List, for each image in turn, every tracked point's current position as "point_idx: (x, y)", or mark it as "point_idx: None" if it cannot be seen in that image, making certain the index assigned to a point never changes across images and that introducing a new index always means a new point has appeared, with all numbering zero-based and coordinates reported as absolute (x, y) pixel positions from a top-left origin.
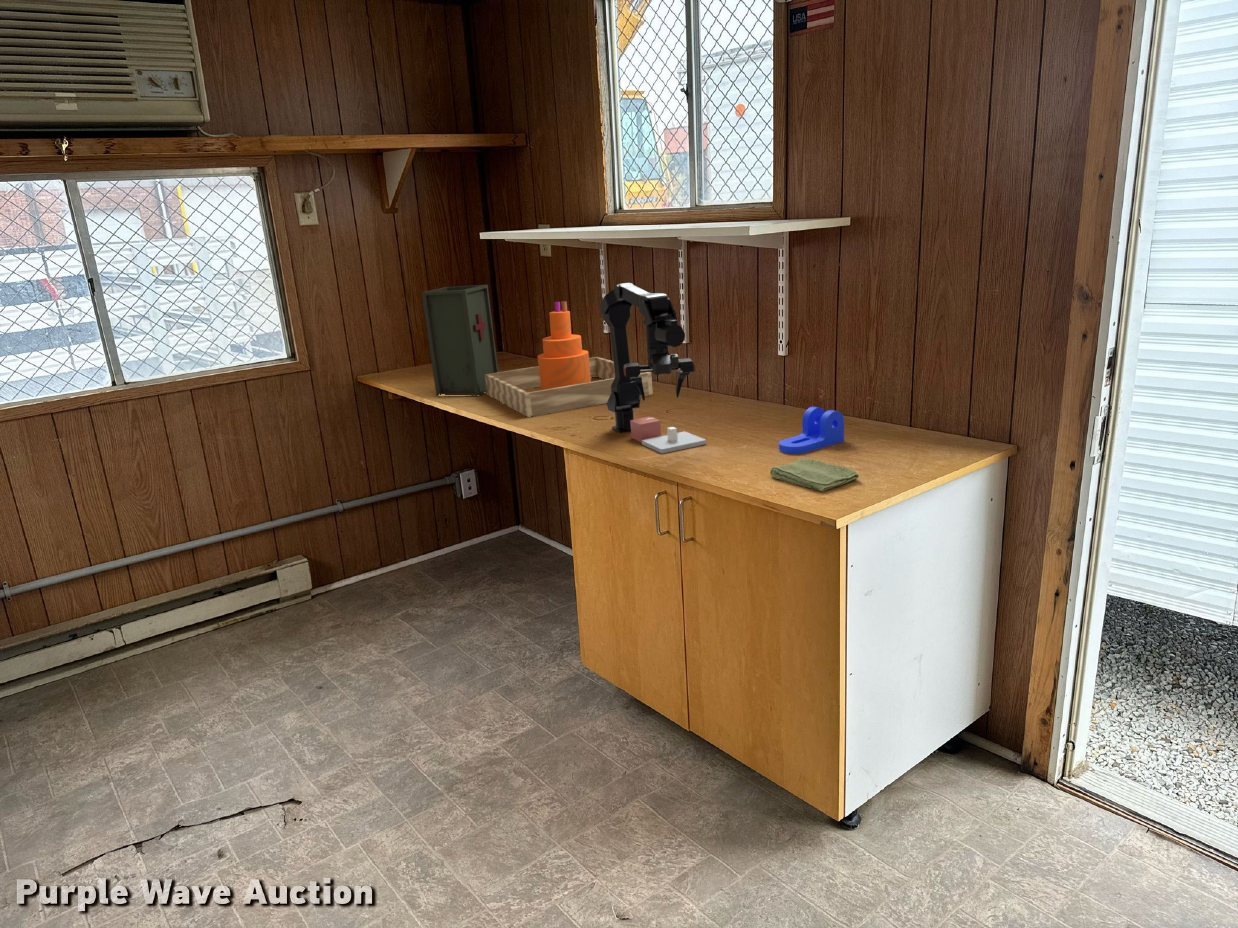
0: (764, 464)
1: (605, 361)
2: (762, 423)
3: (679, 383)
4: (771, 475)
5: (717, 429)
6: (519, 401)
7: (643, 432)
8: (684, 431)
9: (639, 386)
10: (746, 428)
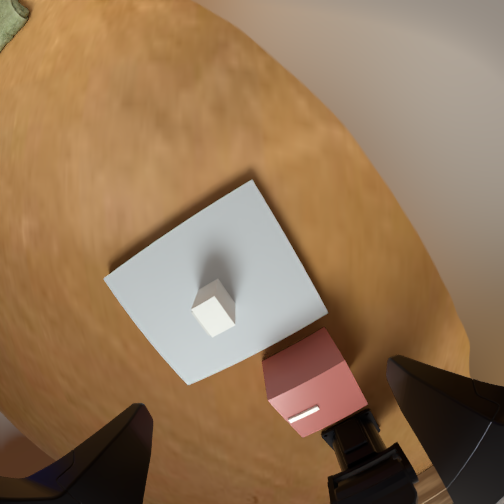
0: (11, 83)
1: None
2: (45, 403)
3: (72, 467)
4: (27, 18)
5: (115, 401)
6: None
7: (324, 348)
8: (188, 384)
9: (493, 392)
10: (58, 385)
